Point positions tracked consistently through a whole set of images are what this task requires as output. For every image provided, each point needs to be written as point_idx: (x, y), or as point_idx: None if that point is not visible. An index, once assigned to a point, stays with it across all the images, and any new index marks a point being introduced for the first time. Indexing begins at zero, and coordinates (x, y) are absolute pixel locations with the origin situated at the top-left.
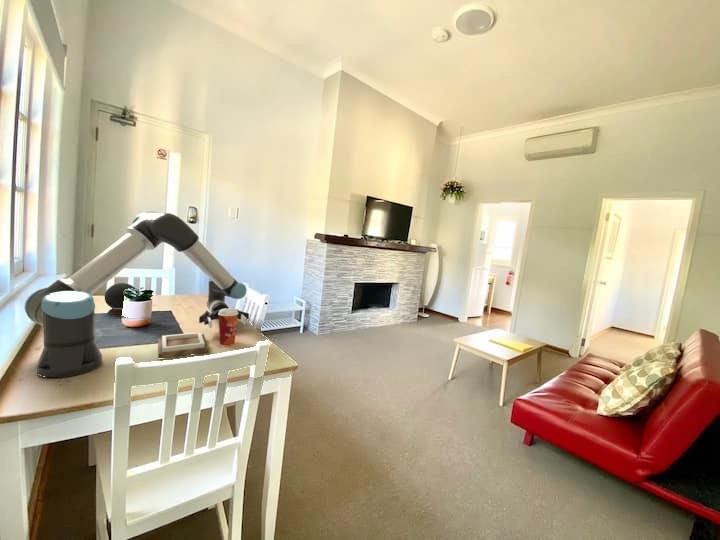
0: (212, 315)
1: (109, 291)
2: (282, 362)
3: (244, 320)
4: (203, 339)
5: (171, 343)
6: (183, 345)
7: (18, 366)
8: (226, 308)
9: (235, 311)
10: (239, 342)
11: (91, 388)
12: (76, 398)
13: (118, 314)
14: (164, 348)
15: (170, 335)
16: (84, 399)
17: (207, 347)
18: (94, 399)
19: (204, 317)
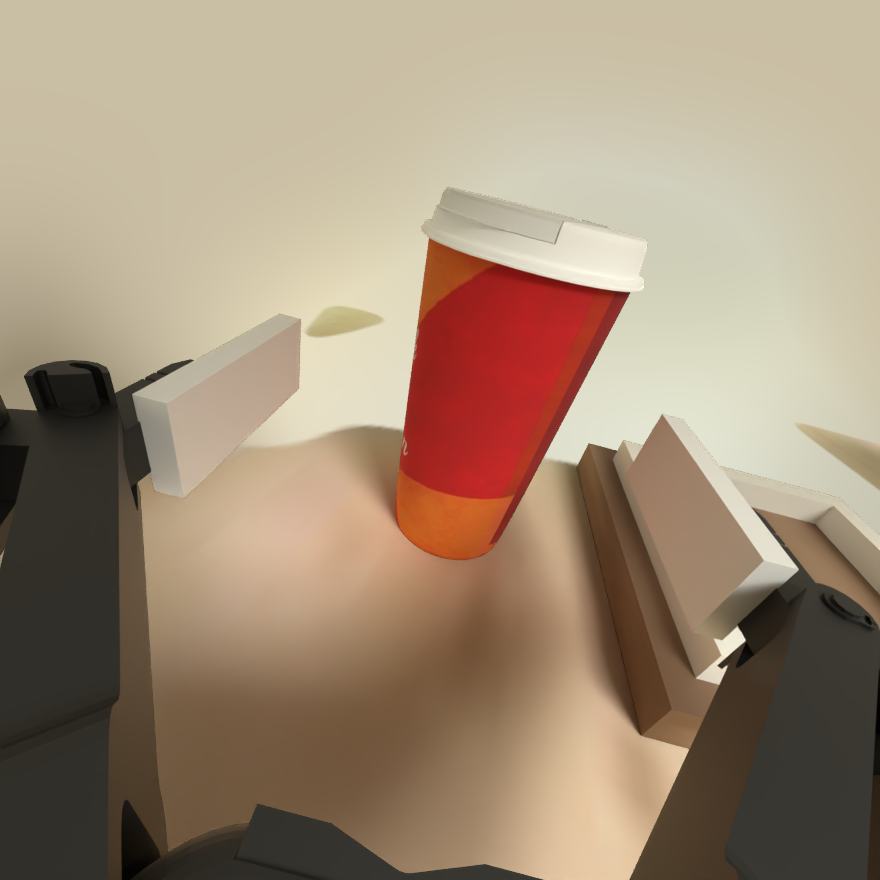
0: (756, 724)
1: None
2: (345, 314)
3: (296, 344)
4: (640, 562)
5: (870, 614)
6: (738, 473)
7: None
8: (561, 219)
9: (481, 194)
10: (365, 484)
11: (872, 467)
12: (861, 448)
13: None
14: (828, 498)
15: None
16: (836, 437)
17: (596, 450)
18: (811, 427)
19: (856, 606)
